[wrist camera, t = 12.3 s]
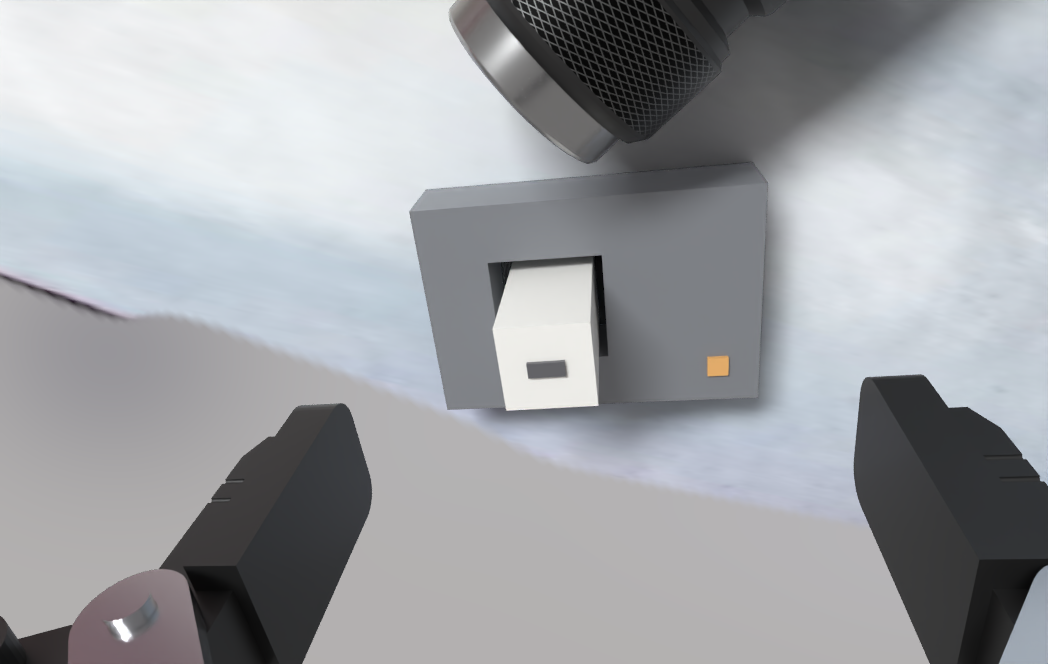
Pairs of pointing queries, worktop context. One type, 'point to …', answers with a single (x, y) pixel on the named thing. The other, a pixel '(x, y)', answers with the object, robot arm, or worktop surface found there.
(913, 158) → the worktop surface
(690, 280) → the outlet block
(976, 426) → the robot arm
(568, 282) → the block
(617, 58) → the muzzle brake
